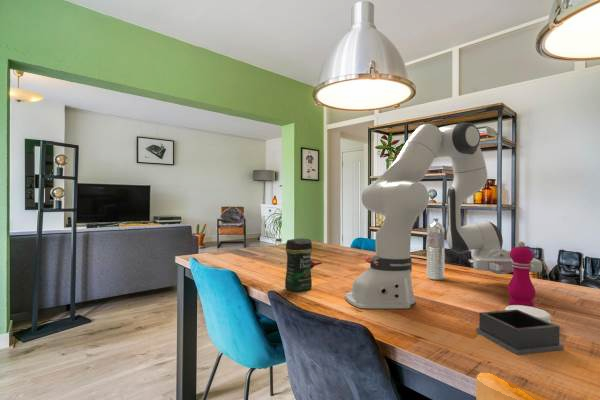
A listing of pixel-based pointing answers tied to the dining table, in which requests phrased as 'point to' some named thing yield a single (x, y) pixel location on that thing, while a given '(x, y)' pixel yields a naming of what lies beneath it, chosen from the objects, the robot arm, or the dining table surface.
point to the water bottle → (435, 251)
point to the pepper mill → (521, 277)
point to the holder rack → (519, 331)
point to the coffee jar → (298, 265)
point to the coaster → (531, 311)
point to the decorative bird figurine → (314, 264)
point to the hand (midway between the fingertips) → (517, 269)
